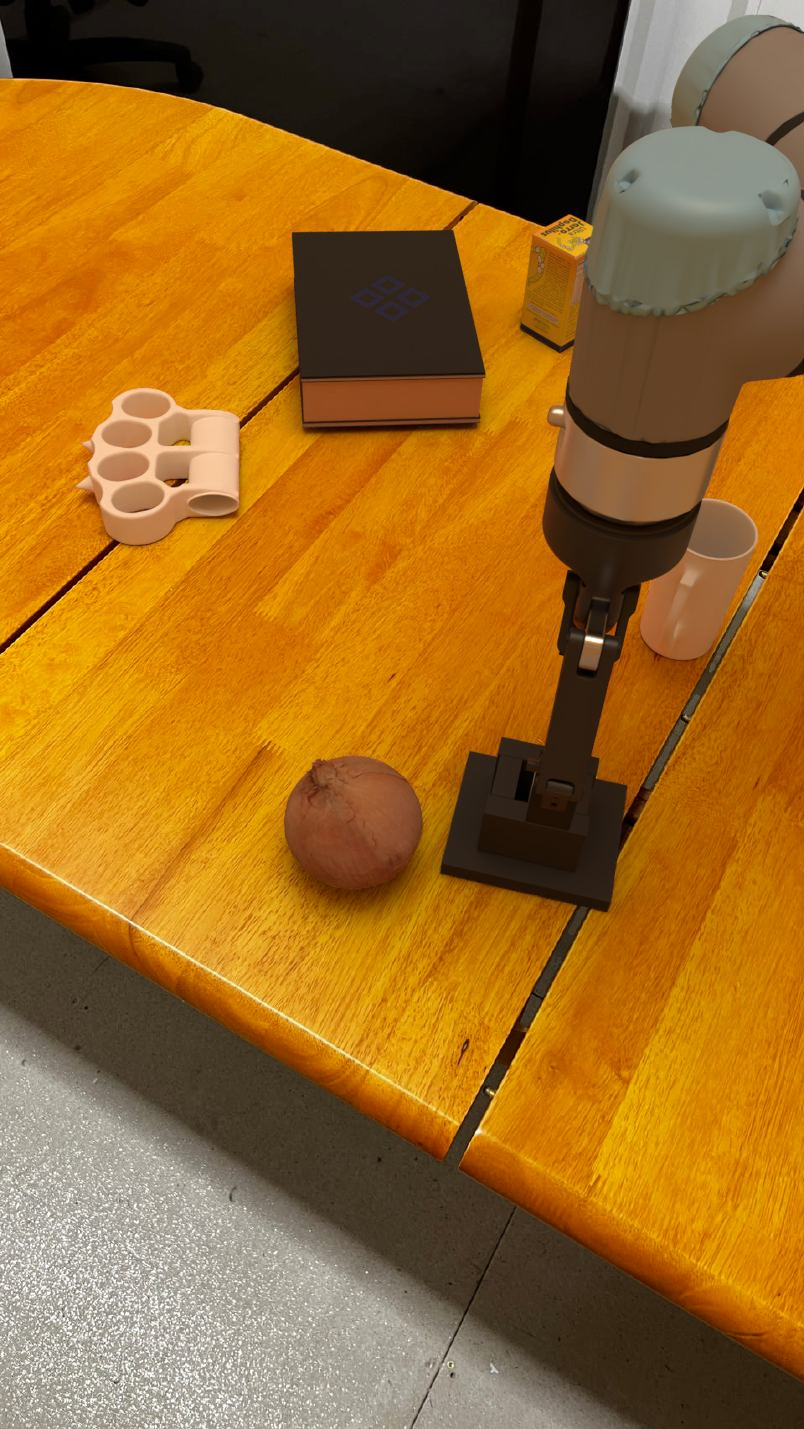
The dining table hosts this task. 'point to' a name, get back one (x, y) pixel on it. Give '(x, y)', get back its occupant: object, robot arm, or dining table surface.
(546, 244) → the supplement box
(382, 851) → the onion
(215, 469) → the knuckle duster
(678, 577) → the mug
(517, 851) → the black hollow block
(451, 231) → the book
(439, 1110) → the dining table surface
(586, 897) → the base pad
